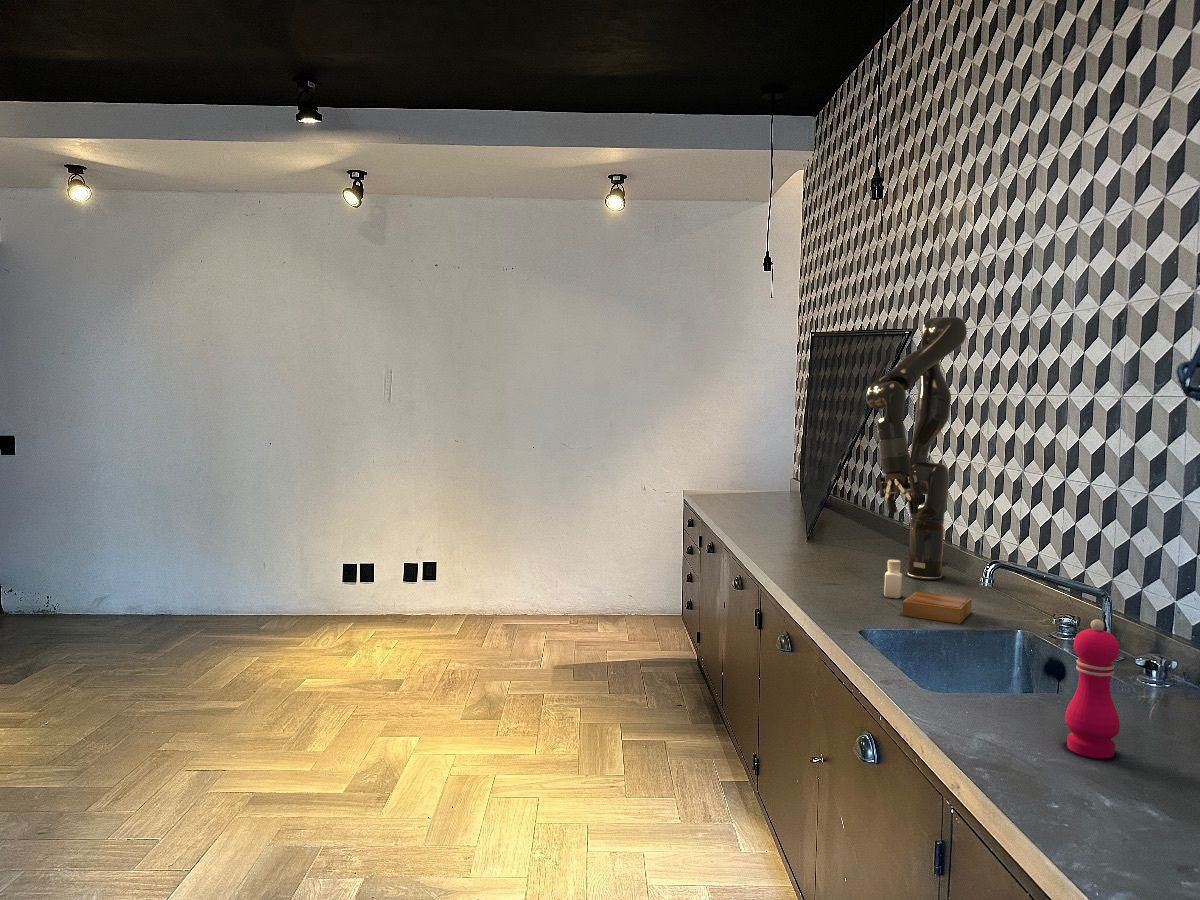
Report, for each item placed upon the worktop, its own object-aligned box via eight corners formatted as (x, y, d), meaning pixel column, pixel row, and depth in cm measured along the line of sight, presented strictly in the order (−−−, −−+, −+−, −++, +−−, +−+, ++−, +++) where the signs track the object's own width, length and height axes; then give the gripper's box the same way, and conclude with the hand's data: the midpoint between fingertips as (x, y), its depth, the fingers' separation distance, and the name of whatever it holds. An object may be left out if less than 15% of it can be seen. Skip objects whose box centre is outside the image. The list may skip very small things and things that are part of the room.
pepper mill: (1053, 741, 139) (1060, 613, 138) (1098, 740, 140) (1105, 613, 139) (1082, 760, 132) (1089, 625, 131) (1129, 760, 133) (1137, 625, 131)
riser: (916, 605, 228) (916, 590, 227) (970, 612, 221) (971, 597, 220) (902, 615, 217) (903, 600, 216) (959, 623, 210) (960, 608, 209)
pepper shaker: (901, 596, 237) (903, 560, 237) (899, 599, 234) (901, 562, 233) (885, 594, 239) (887, 558, 238) (883, 597, 235) (885, 561, 235)
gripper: (923, 451, 242) (932, 511, 242) (888, 453, 255) (896, 510, 256) (901, 455, 239) (910, 516, 240) (866, 457, 253) (875, 515, 253)
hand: (903, 513), depth 248 cm, fingers open, 8 cm apart
